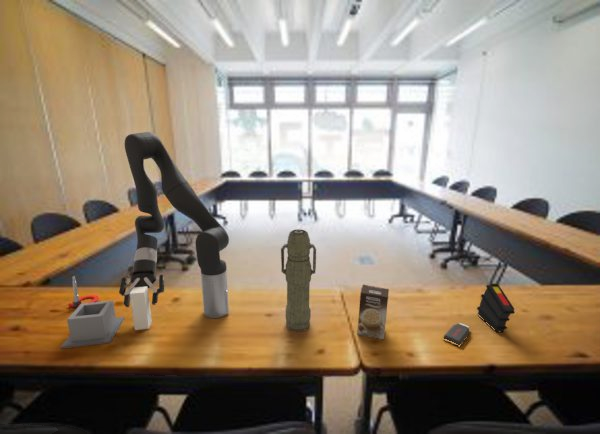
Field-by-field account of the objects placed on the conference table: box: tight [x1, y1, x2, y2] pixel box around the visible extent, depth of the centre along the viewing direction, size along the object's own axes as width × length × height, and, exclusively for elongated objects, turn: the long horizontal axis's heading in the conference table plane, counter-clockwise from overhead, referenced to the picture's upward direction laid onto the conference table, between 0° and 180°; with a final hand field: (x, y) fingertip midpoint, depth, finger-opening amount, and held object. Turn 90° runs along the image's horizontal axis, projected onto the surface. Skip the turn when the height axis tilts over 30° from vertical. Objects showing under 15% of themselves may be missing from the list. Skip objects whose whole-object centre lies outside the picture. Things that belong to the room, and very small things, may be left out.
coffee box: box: [356, 284, 390, 340], centre depth 106 cm, size 9×6×16 cm
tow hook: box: [68, 275, 100, 309], centre depth 124 cm, size 8×13×9 cm
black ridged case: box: [476, 283, 516, 332], centre depth 112 cm, size 4×13×15 cm, turn 3°
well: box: [60, 300, 125, 349], centre depth 105 cm, size 14×14×9 cm
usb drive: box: [443, 322, 470, 345], centre depth 106 cm, size 5×12×3 cm, turn 135°
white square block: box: [130, 286, 153, 331], centre depth 109 cm, size 4×4×14 cm
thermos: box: [280, 228, 317, 332], centre depth 108 cm, size 9×12×35 cm
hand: (140, 305), depth 108 cm, fingers open, 8 cm apart
